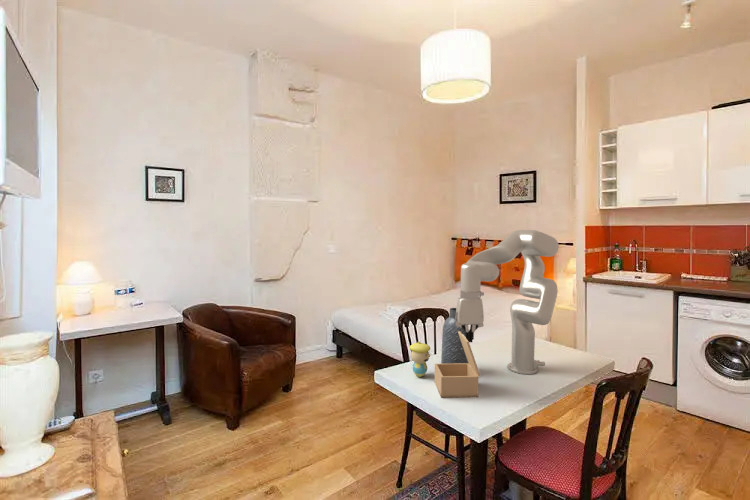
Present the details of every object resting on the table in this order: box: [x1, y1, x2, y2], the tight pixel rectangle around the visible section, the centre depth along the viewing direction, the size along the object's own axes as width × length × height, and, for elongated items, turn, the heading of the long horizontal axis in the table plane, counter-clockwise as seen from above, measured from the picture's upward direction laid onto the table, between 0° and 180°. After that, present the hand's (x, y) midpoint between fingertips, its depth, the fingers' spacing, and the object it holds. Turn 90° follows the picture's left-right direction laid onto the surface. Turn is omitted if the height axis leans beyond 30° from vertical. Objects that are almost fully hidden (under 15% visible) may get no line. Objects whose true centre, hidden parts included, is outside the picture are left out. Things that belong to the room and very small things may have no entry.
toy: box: [409, 341, 431, 377], centre depth 168 cm, size 8×9×15 cm
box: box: [434, 363, 479, 399], centre depth 155 cm, size 14×14×8 cm
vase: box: [440, 307, 468, 364], centre depth 172 cm, size 12×12×28 cm
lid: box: [458, 331, 481, 377], centre depth 154 cm, size 14×14×1 cm
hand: (469, 341), depth 153 cm, fingers closed
